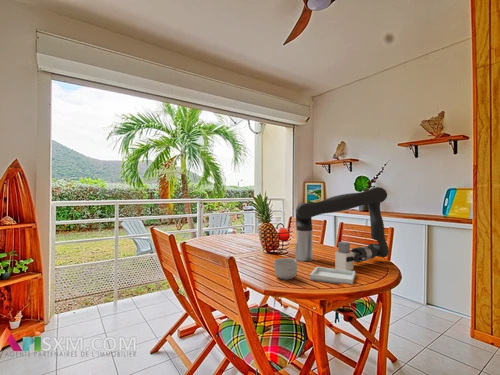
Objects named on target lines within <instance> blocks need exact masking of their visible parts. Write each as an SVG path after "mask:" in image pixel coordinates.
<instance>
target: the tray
mask: <svg viewBox="0 0 500 375" xmlns="http://www.w3.org/2000/svg"><path fill="white" fill-rule="evenodd" d="M355 278H356V271H355V270H340V269H336V268H330V267H321V266H316V267H315V268H314V269H313V270H312V271H311V273H310V274H309V279H310V281H315V282H323V283H328V284H329V283H331V284H336V285H344V286H345V284H347V285H353V283H354V280H355Z"/></svg>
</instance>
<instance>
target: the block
mask: <svg viewBox="0 0 500 375" xmlns="http://www.w3.org/2000/svg"><path fill="white" fill-rule="evenodd" d="M337 247H338V248H337V251H338V252H340V253H344V254H346V253H350V251H351V242H347V241H339V242H337Z"/></svg>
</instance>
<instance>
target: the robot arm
mask: <svg viewBox="0 0 500 375" xmlns="http://www.w3.org/2000/svg"><path fill="white" fill-rule="evenodd" d="M387 198H388V192H387V190H386V189H384V188H383V187H380V186H376V187H372V188H369V189H368V190H365V191H360V192H352V193H343V194H338V195H335V196H331V197H328V198H325V199H323V200H321V201H316V202H301V203H299V204H298V205H297V206H296V208H295V226H296V242H295V247H294V248H295V260H297V261H301V262H310V261H311V262H312V261H313V222H312V221H313V220H312V218H313V217H316V216H320V215H324V214H332V213H338V212H339V213H340V212H342V211H348V210H352V209H355V208H358V207H361V206H363V205H367V207H368V211H369V219H370V220H369V221H370V237H371V239H372V240H375V241H376V242H377V243H369V244H368V245H366V246H357V247H353V248H351V249H350V252H353V256H352V257H347V258H346V261H347V262H351V261H353V263H354V262H355V263H361V262H365V261H368V260H372V259H374V258H376V257H379V258H387V257H388V256H389V253H390V252H389V251H390V249H389V245H388V243H387V239H386V235H385V224H384V221H383V220H384V219H383V217H382V213H381V203H383V202H384V201H386V200H387Z"/></svg>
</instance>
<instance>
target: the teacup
mask: <svg viewBox="0 0 500 375" xmlns="http://www.w3.org/2000/svg"><path fill="white" fill-rule="evenodd" d="M297 263H298V260H297V259H296V258H291V257H285V258H283V257H282V258H277V259H274V260H273V269H274V274H275V275H276V277H278V279H281V280H291V279H294V277H295V276H296V275H297V273H298V264H297Z"/></svg>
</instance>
